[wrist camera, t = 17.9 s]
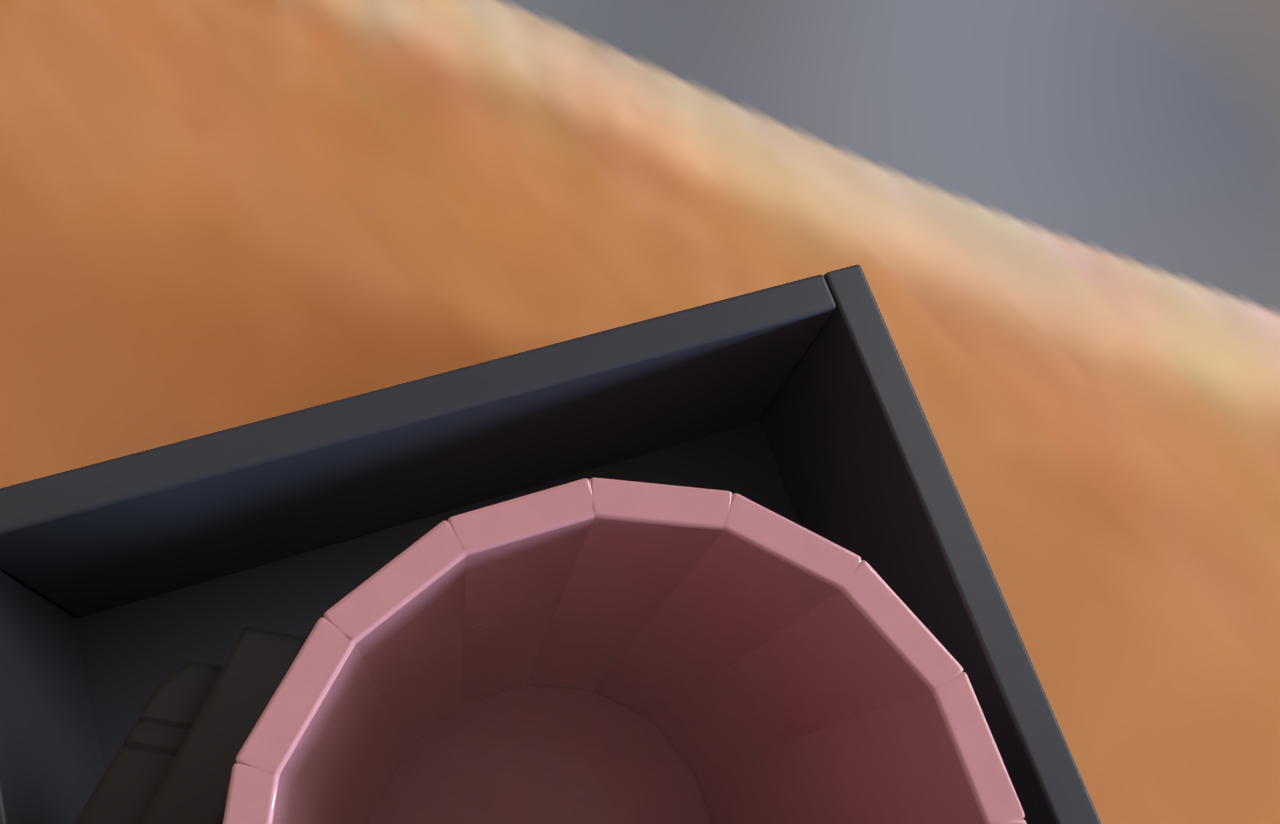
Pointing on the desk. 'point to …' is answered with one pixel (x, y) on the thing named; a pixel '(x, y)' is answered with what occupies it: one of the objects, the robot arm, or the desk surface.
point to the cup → (622, 680)
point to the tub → (478, 477)
